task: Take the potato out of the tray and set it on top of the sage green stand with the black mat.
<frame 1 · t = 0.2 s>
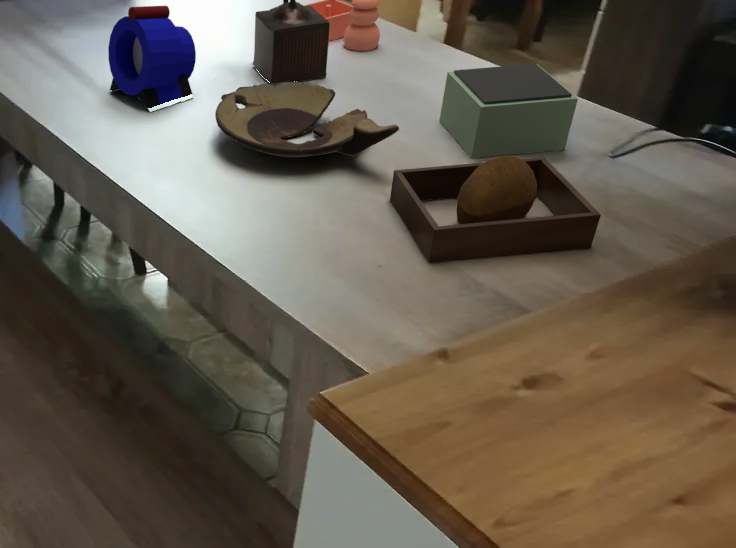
blue spotlight: (154, 95, 160), on the table
potato: (485, 224, 121), resting in tray
stand: (499, 134, 141), on the table
pottery: (340, 38, 177), on the table
brown coffee grinder: (274, 74, 165), on the table
broken ceramic bowl: (297, 150, 141), on the table
tray: (485, 223, 121), on the table
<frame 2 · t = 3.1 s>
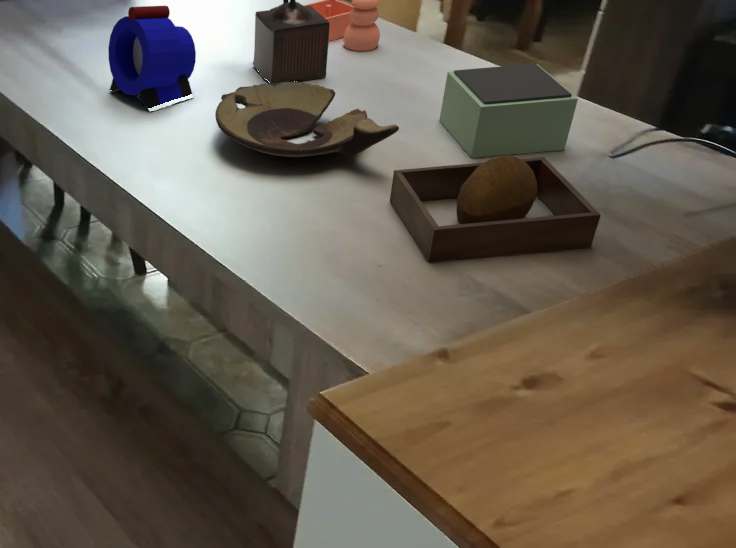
nothing on the table moved.
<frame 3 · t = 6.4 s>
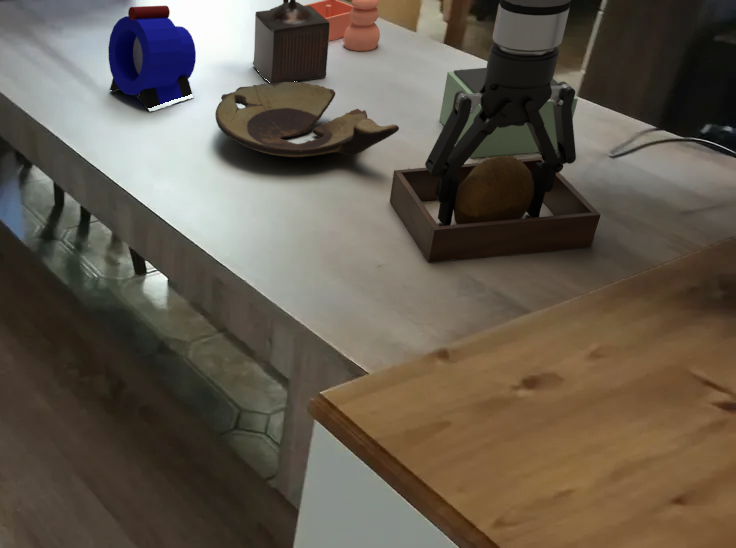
hand: (487, 218, 121), 1 cm above the table, tool pointing down, fingers closed on potato, 11 cm apart
potato: (482, 224, 121), resting in tray, touching gripper
everything else where it was.
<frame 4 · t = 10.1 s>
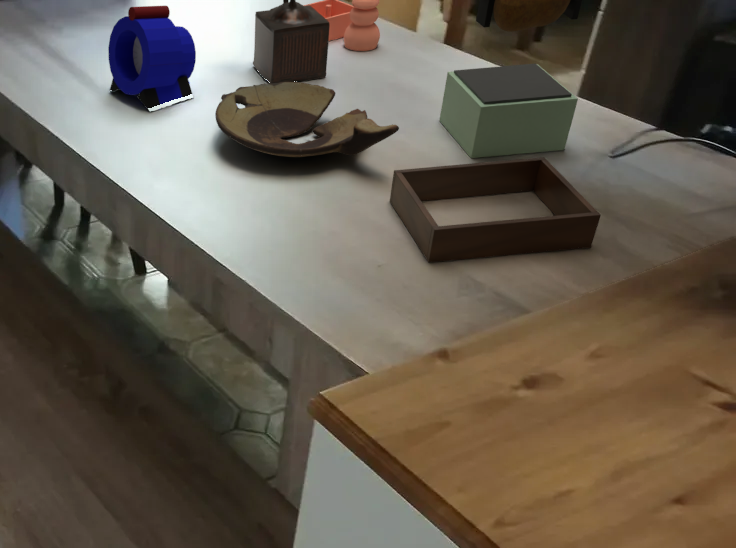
hand: (526, 20, 120), 20 cm above the table, tool pointing down, fingers closed on potato, 11 cm apart
potato: (520, 27, 120), point 19 cm above the table, touching gripper
everything else where it was.
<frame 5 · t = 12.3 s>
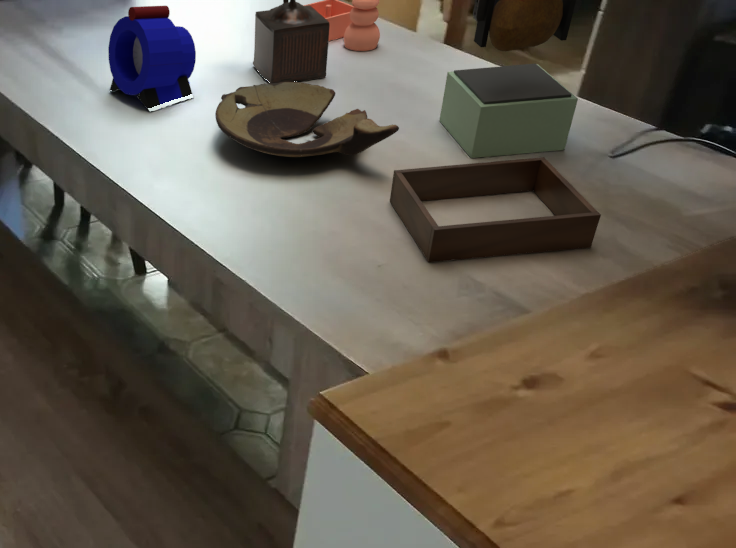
hand: (519, 40, 132), 14 cm above the table, tool pointing down, fingers closed on potato, 11 cm apart
potato: (514, 47, 132), point 13 cm above the table, touching gripper
everything else where it was.
when the fingers open (9 cm above the table, at t = 14.1 s): potato stays where it is, resting on stand.
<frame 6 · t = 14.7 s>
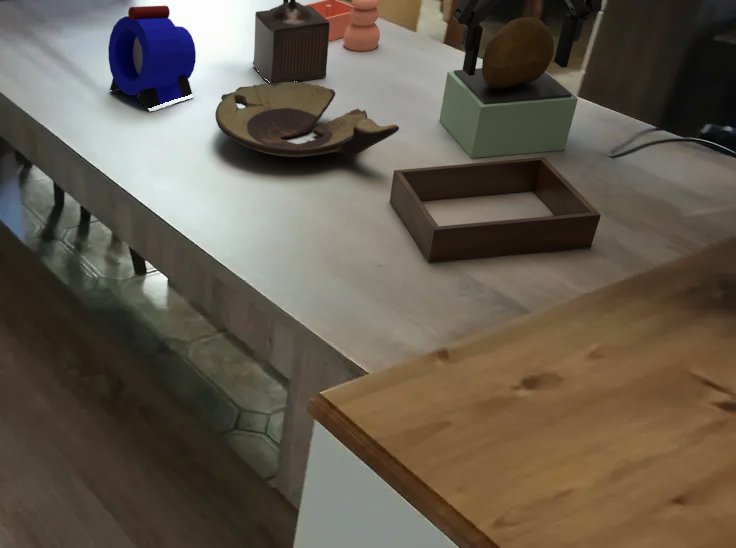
hand: (514, 68, 134), 10 cm above the table, tool pointing down, fingers open, 13 cm apart
potato: (506, 83, 136), point 8 cm above the table, touching stand
everything else where it was.
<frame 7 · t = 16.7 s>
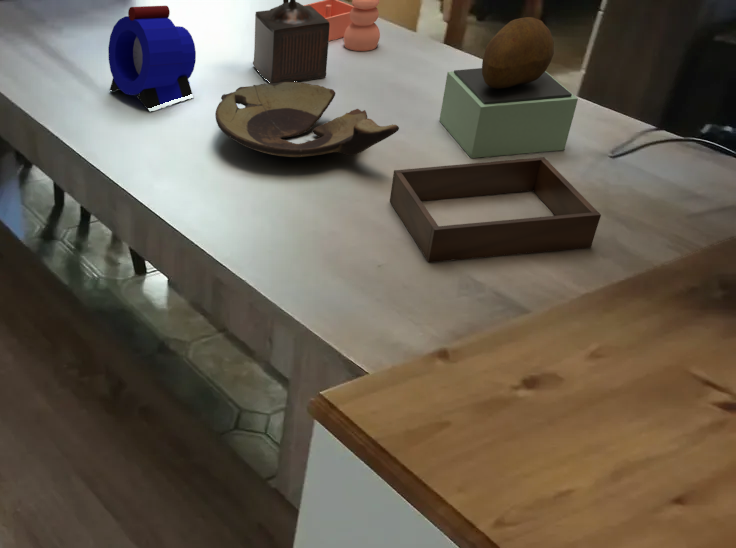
nothing on the table moved.
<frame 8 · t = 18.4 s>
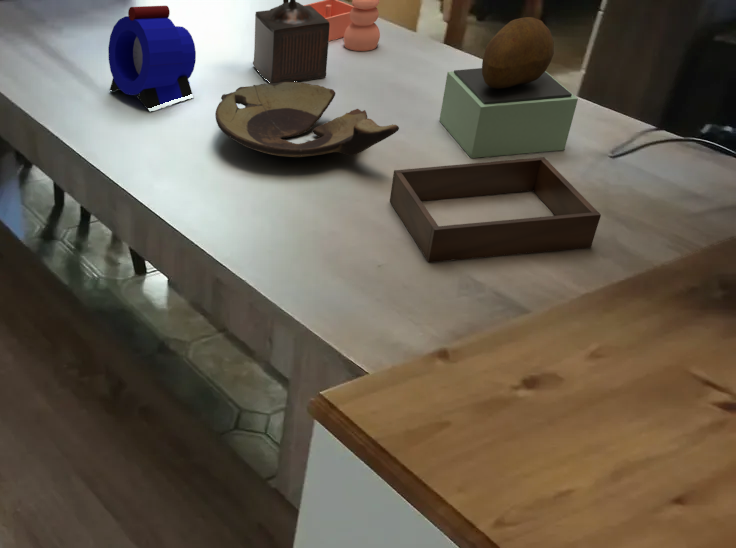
nothing on the table moved.
at the end: potato inside the target area on the stand (0.6 cm from its centre), point 7.8 cm above the stand's base; the gripper is holding nothing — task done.
